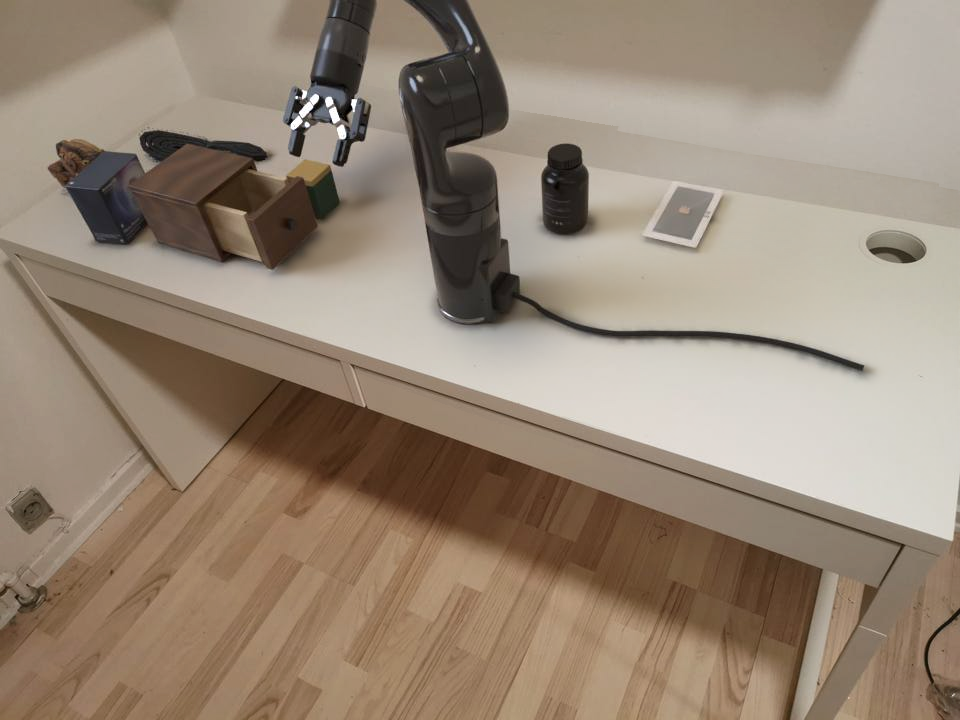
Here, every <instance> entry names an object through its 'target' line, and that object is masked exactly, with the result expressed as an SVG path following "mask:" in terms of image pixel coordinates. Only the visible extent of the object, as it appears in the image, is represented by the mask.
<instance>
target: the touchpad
mask: <svg viewBox="0 0 960 720" xmlns="http://www.w3.org/2000/svg"><path fill="white" fill-rule="evenodd" d="M724 192H725V190H722V189H717V188H712V187H707V186H703V185H702V186H701V185H697V184H691V183H686V182H681V181H676V180H672V182H671V184H670V185H669V187H668V188H667V190H666V192H665V194H664V196H663V198H662V199H661V201H660V202H659V204H658V206H657V208H656V209H655V212H654V213H653V215H652V217H651V218H650V220H649V222H648V223H647V225H646V227H645V228H644V230H643V232H642V234H641V236H642V237H646V238H649V239H655V240H660V241H664V242H668V243H673V244H677V245H681V246H685V247H689V248H695V249H697V246H698V245H699V242H700V240H701V239H702V236H703V235H704V232H705V230H706V229H707V227H708V224H709V223H710V220H711V218H712V217H713V215H714V213H715V210H716V208H717V206H718V205H719V203H720V200H721V198H722V196H723V194H724Z"/></svg>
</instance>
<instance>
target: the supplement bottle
mask: <svg viewBox="0 0 960 720" xmlns="http://www.w3.org/2000/svg"><path fill="white" fill-rule="evenodd" d="M583 161H584V160H583V151H582V149H581V147H579V145H577V144H574V143H567V142H566V143H558V144H555V145H554V146H551V147H550V148H549V149H548V151H547V161H546V164H547V165H546V166H545V167H544V168H543V170H542V172H541V174H540V175H541V176H540V183H541V185H540V187H541V204H542V205H541V208H542V223H543V225H544V227H545V228H546V229H547V230H548V231H549V232H551V233H553V234H556V235H562V236H565V235H566V236H567V235H573V234H576V233H579V232H580V231H582V230H583V229H585V227H586V226H587V224H588V223H589V222H588V221H589V201H590V200H589V195H590V194H589V193H590V192H589V191H590V189H589V188H590V172H589V170H588V168H587V167H586V165H585V164H584V162H583Z"/></svg>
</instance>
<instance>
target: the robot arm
mask: <svg viewBox="0 0 960 720" xmlns="http://www.w3.org/2000/svg"><path fill="white" fill-rule="evenodd" d="M403 2H404V3H406V4H407V5H408V6H410V7H411V8H413V9H414V10H415V12H417V13H418V14H420V16H422V18H424V19H425V20H426V21H427V22H428V24H429V25H430V26H431V27H432V29H433V30H434V32H436V33H437V35H438V37H439V38H440V40H441V41H442V44H444V47H445V48H446V51H447V52H446V53H442V54H439V55H434V56H432V57H427V58H423V59H420V60H415V61H413V62H409V63H407V64H405V65H404V66H403V67H402V68H401V69H400V72H399V76H398V95H399V102H400V107H401V113H402V116H403V119H404V124H405V128H406V132H407V137H408V141H409V146H410V150H411V156H412V162H413V167H414V172H415V176H416V180H417V184H418V191H419V195H420V200H421V207H422V213H423V219H424V225H425V232H426V237H427V243H428V249H429V256H430V262H431V268H432V272H433V279H434V285H435V290H436V296H437V299H436V300H437V307H438V309H439V312H440V313H441V314H442V315H443V316H444V317H445V318H446V319H448V320H449V321H451V322H454V323H458V324H464V325H475V324H481V323H489V324H493V323H494V322H495V321H496V319H497V318H498V316H499V315H500V313H505V314H507V313H508V312H509V311H510V309H511V308H512V306H513V305H514V304H515V302H516V300H518V301H520V302H522V303H525V304H528V305H529V306H531V307H532V308H533V309H535V310H537V312H539V313H540V314H542V315H544V316H545V317H547V318H549V319H551V320H553V321H554V322H555V321H556V322H558V323H560V324H562V325H564V326H567V327H568V328H572V329H575V330H577V331H578V330H579V331H582V332H586V333H591V334H596V335H600V336H607V337H619V338H620V337H623V338H624V337H625V338H626V337H630V338H631V337H673V338H675V337H677V338H679V337H682V338H683V337H686V338H687V337H689V338H691V337H692V338H693V337H695V338H696V337H697V338H718V339H719V338H721V339H729V340H741V341H749V342H756V343H762V344H767V345H773V346H777V347H781V348H782V347H783V348H786V349H791V350H795V351H799V352H802V353H807V354H810V355H813V356H816V357H819V358H823V359H825V360H829V361H831V362H834V363H837V364H840V365H842V366H846V367H849V368H852V369H854V370H858V371H860V372H863V370H864V368H865V365H864V364H862V363H858V362H855V361H852V360H850V359H846V358H844V357H841V356H838V355H834V354H832V353H828V352H826V351H823V350H819V349H818V348H817V349H816V348H813V347H811V346H806V345H802V344H798V343H794V342H790V341H786V340H782V339H776V338H771V337H765V336H760V335H753V334H744V333H738V332H737V333H736V332H728V331H727V332H726V331H713V330H712V331H711V330H610V329H603V328H597V327H592V326H589V325H584V324H580V323H577V322H574V321H571V320H568V319H566V318H564V317H562V316H559V315H558V314H555V313H553V312H551V311H550V310H549V309H546V308H545V307H543V306H542V305H541V304H540V303H538V302H537V301H535V300H534V299H532V298H530V297H527V296H525V295H522V294H521V281H520V275H517V274H514V273H511V261H510V247H509V240H508V239H507V238H503V237H502V228H501V227H502V226H501V214H500V201H499V185H498V175H497V171H496V169H495V166H494V165H493V164H492V163H491V162H490V161H489V160H487V159H486V158H485V157H483V156H481V155H478V154H474V153H471V152H465V151H454V150H447V149H450V148H454V147H458V146H460V145H464V144H467V143H470V142H474V141H477V140H481V139H484V138H487V137H490V136H493V135H496V134H499V133H500V132H502V131H504V129H505V128H506V127H507V125H508V122H509V118H510V103H509V98H508V91H507V88H506V85H505V81H504V78H503V76H502V72H501V70H500V68H499V65H498V63H497V59H496V58H495V56H494V53H493V51H492V49H491V47H490V44H489V42H488V40H487V38H486V36H485V34H484V31H483V29H482V27H481V25H480V23H479V21H478V19H477V17H476V14H475V13H474V10H473V9H472V6H471V3H470V2H469V0H403ZM377 7H378V1H377V0H329V1H328V7H327V11H326V16H325V19H324V22H323V26H322V28H321V31H320V34H319V37H318V42H317V45H316V50H315V52H314V53H315V54H314V58H313V63H312V67H311V71H310V76H309V79H310V87H309V88H308V90H304V89H301V88H299V87H298V86H295V85H294V86H292V87H291V90H290V93H289V97H288V100H287V104H286V107H285V111H284V113H283V117H282V122H283V124H285V125H287V126H288V127H289V128H290V129H291V132H290V136H289V141H288V145H287V150H288V153H289V155H291V156H293V157H296V158H301V156H302V153H303V148H304V144H305V140H306V133H307V132H308V130H310V129H311V128H312V127H314V126H317V124H318V123H321V124H331V125H332V126H334V127H335V128H336V131H337V133H338V137H339V139H337V140H336V143H335V148H334V153H333V157H332V162H331V163H332V164H333V165H334V166H337V167H341V168H343V167H344V166H345V165H346V164H347V162H348V160H349V157H350V152H351V149H352V148H351V147H352V145H353V144H354V143H356V142H360V143H363V142H365V140H366V136H367V131H368V126H369V120H370V115H371V112H372V111H371V110H372V105H371V103H370V102H368V101H367V100H366V99H364V98H362V97H358V98H357V99H356V98H355V96H356V95H357V94H358V93H359V89H360V85H361V80H362V77H363V73H364V69H365V68H364V67H365V64H366V62H367V61H366V60H367V56H368V52H369V44H370V37H371V34H372V29H373V26H374V20H375V17H376V13H377ZM351 112H353V115H352V121H351V120H350V117H349V114H350V113H351Z"/></svg>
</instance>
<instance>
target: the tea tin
mask: <svg viewBox="0 0 960 720" xmlns="http://www.w3.org/2000/svg"><path fill="white" fill-rule="evenodd" d="M296 176H299V177H303V178H304V182H305V185H306V188H307V191H308V195H309V198H310V201H311V205H312V208H313V211H314V214H315V218H316V219H319V220H323V219H324V218H326V217H327V216H328V215H329V213H331V212H332V211H333V210H334V209H335V208H336V207H337V206H338V205H339V204H340V203H341V200H340V197H339V193H338V190H337V185H336V181H335V178H334V175H333V172H332V168H331V165H330V164H328V163H324V162H319V161H314V160H309V159H303V160H302V161H301V162H300V163H299V164H297V165H296V166H295V167H294V168H293V169H291V171H289V172H288V173H287V174H286V175H285V178H287V179H288V182H289V183H290V182H291V181H292V180H293V179H294V178H295V177H296Z"/></svg>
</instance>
